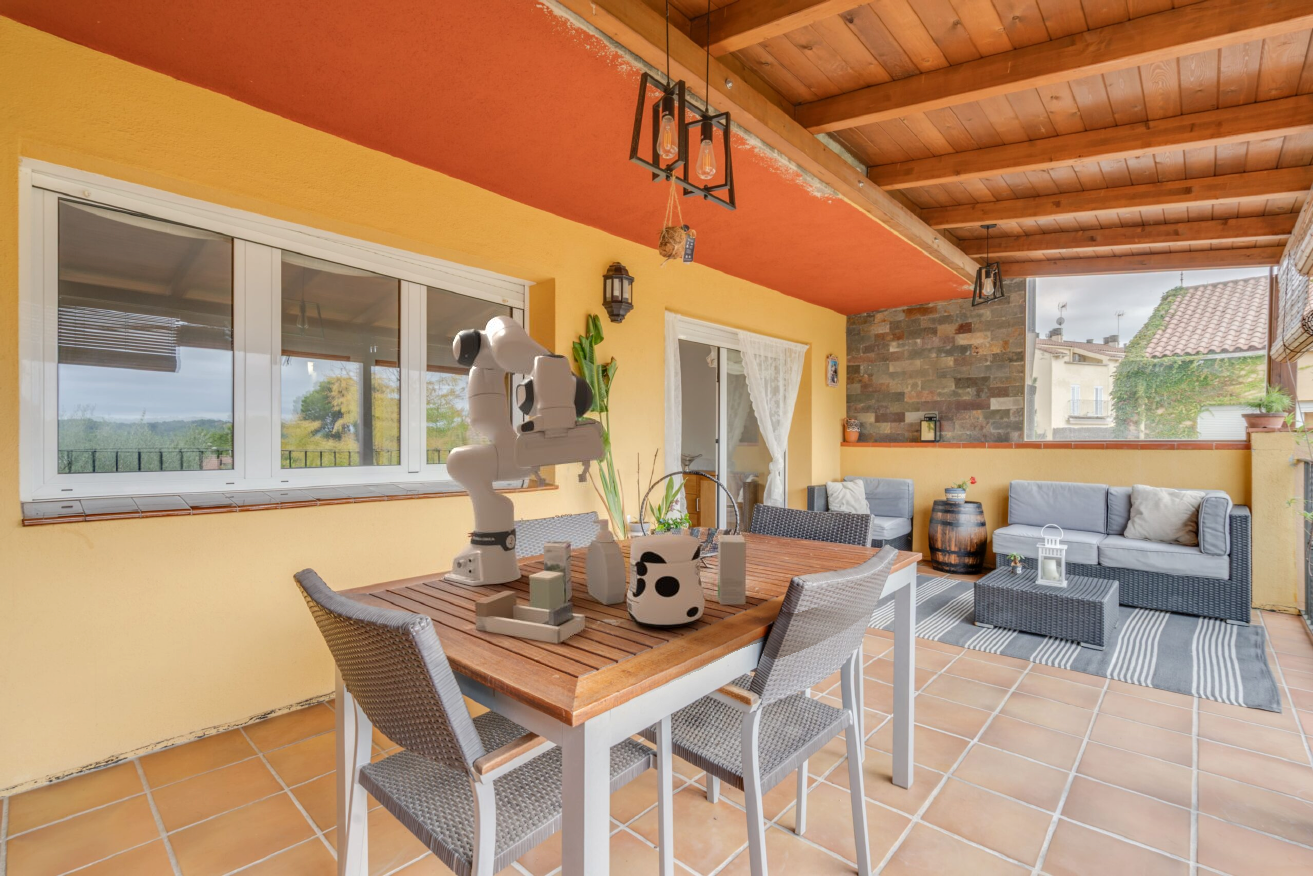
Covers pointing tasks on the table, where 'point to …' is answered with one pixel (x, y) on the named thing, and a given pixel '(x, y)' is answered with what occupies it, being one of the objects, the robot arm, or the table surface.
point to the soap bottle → (605, 567)
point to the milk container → (665, 581)
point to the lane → (521, 619)
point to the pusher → (560, 615)
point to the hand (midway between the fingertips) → (562, 484)
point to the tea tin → (546, 590)
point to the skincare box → (731, 569)
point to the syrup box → (559, 563)
